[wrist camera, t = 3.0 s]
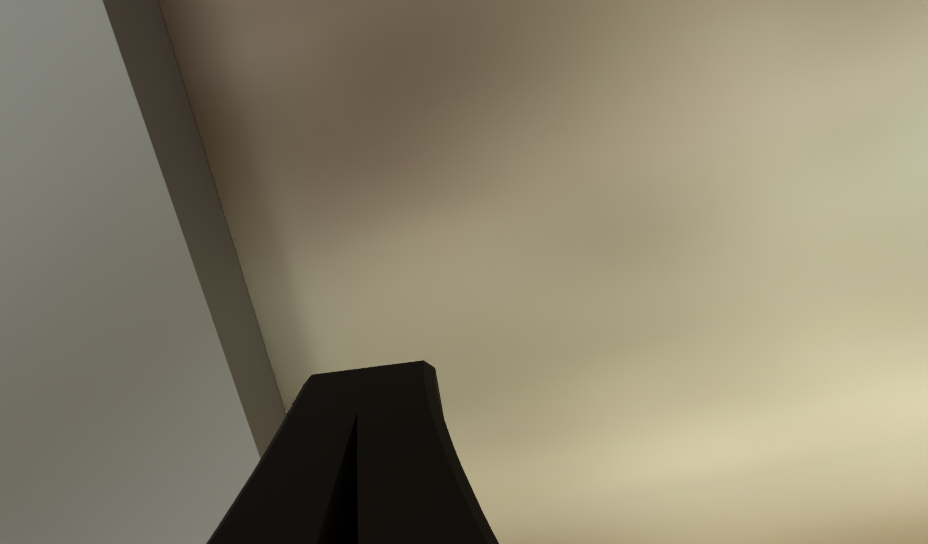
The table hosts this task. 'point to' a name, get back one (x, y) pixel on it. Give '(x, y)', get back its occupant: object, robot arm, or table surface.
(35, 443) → the duct lid
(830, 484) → the table surface
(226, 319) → the cable duct
